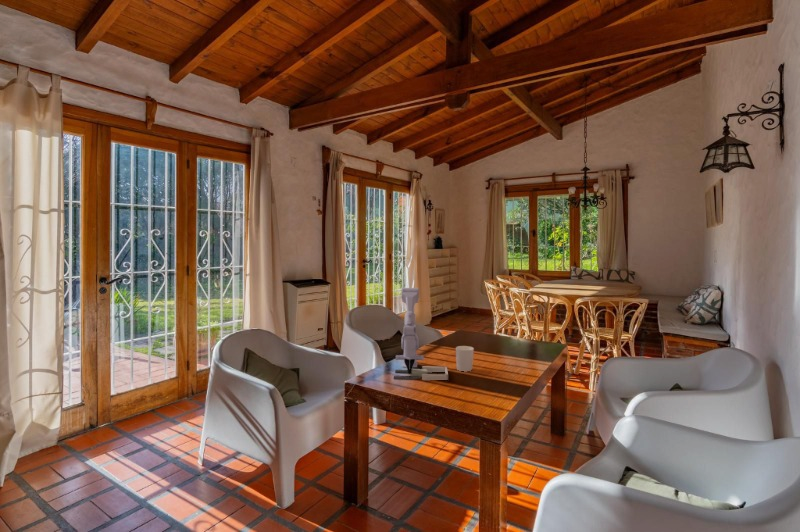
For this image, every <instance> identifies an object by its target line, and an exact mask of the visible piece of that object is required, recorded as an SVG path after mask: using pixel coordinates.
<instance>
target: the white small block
mask: <svg viewBox="0 0 800 532" xmlns="http://www.w3.org/2000/svg"><path fill="white" fill-rule="evenodd" d="M419 369H420V368H412V373H411V376H419Z"/></svg>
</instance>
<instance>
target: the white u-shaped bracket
mask: <svg viewBox="0 0 800 532" xmlns="http://www.w3.org/2000/svg"><path fill="white" fill-rule="evenodd" d="M421 367H422V368H421V369H427V374H422V377H421V378H422V381H430V380H448V381H449V373H448V367H447V366H434V365H433V366H429V365H428V366H423V365H422V366H421ZM432 372H445V373H438V374H437V373H432Z"/></svg>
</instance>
